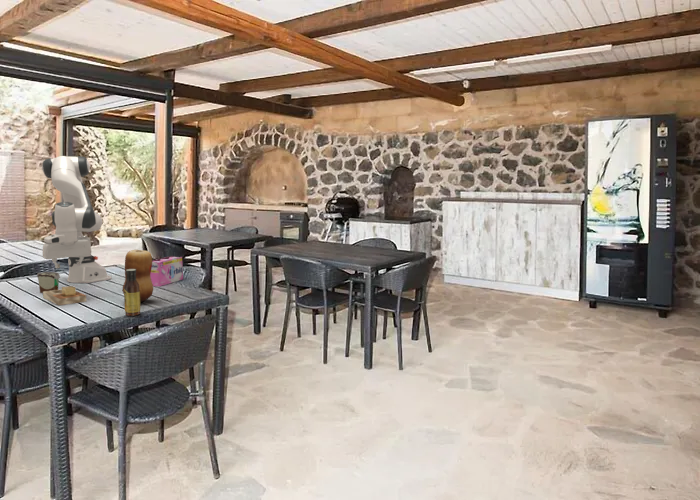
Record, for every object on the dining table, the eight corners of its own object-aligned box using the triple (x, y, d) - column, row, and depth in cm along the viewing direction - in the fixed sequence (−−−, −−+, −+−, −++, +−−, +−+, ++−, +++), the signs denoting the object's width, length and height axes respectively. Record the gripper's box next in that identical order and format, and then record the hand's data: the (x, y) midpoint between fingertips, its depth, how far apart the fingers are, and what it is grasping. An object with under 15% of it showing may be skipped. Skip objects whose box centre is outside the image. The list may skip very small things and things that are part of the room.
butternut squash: (152, 305, 240) (150, 251, 237) (121, 306, 236) (119, 252, 233) (154, 298, 253) (153, 248, 250) (125, 299, 249) (123, 248, 246)
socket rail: (69, 294, 258) (69, 287, 258) (86, 301, 244) (86, 294, 243) (43, 297, 249) (42, 291, 249) (58, 305, 235) (58, 298, 235)
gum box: (173, 278, 306) (172, 255, 304) (184, 279, 304) (184, 256, 302) (147, 285, 283) (146, 261, 281) (159, 286, 281) (159, 262, 279)
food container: (66, 292, 262) (65, 273, 260) (56, 294, 256) (55, 275, 254) (48, 290, 266) (47, 271, 264) (37, 292, 260) (36, 273, 258)
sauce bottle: (127, 312, 225) (126, 268, 223) (142, 312, 226) (141, 268, 223) (122, 316, 219) (120, 270, 216) (137, 316, 220) (136, 270, 217)
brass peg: (72, 300, 246) (71, 285, 245) (76, 301, 243) (75, 287, 242) (62, 301, 242) (61, 287, 242) (66, 303, 240) (65, 288, 239)
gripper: (87, 234, 248) (89, 263, 250) (40, 238, 233) (42, 268, 235) (92, 236, 244) (94, 264, 246) (45, 239, 229) (47, 270, 231)
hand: (68, 266), depth 241 cm, fingers open, 8 cm apart
